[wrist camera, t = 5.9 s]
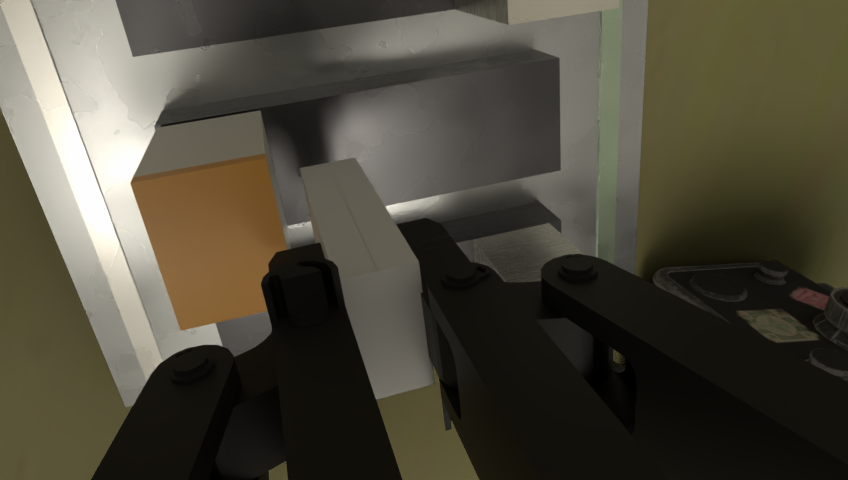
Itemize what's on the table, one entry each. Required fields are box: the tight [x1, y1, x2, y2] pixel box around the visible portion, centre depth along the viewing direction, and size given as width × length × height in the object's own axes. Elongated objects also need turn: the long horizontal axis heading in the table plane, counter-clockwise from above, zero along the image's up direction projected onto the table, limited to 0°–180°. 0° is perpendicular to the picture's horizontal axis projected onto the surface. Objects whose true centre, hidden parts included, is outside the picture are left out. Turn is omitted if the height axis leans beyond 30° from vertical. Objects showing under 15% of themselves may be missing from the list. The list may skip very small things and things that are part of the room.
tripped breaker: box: [130, 110, 291, 331], centre depth 17 cm, size 3×4×5 cm
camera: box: [652, 260, 848, 382], centre depth 27 cm, size 10×11×15 cm
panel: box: [0, 0, 648, 407], centre depth 20 cm, size 22×18×8 cm
